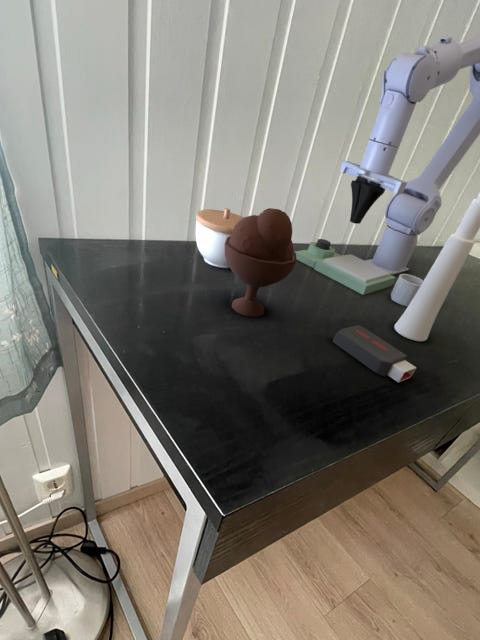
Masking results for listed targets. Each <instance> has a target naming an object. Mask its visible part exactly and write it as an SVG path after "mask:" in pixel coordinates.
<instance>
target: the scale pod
mask: <svg viewBox="0 0 480 640" xmlns="http://www.w3.org/2000/svg"><path fill="white" fill-rule="evenodd" d="M316 244H317V241H311V242H310V243H309V245H308V248H307V249H302V250H296V251H294V252H295V253H296V259H297V261H299V262H301V263H302V264H305V265H307V266H309V267H310V268H313V269H314V267H315V264H316V261H317V260H322V259H326V258H332V257H337V256H343V255H342V254H340V253H338V252H336V249H335V247H333V246H332V245H330V247H329V250H324V249H320V248H318V247H316Z"/></svg>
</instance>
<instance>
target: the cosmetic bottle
mask: <svg viewBox="0 0 480 640" xmlns="http://www.w3.org/2000/svg"><path fill="white" fill-rule="evenodd" d="M479 231H480V191H479V192H478V194H477V197H476V198H474V199H472V200H471V203H470V205H468V208H467V210H466V212H465V214H464V215H463V217H462V219H461V221H460V223H459V225H458V226H457V228H456V230H455V232H454V233H451V234H450V235H449V237H448V239H447V240H446V242H445V244H444V245H443V247H442V248H441V250H440V252H439V254H438V255H437V257H436V259H435V260H434V262H433V264H432V266H431V267H430V269H429V270H428V272H427V275H426V276H425V277H424V279H423V280H424V281H423V283H422V285H421V286H420V288H419V290H418V291H417V293H416V295H415V296H414V298H413V299H412V301H411V303H410V304H409V306H408V307H407V306H406V308H405V310H404V312H403V313H402V315H401V316H400V317H399V319H398V320H397V321H396V323H394V325H393V326H394V327H393V328H394V330H395V332H397V334H399V335H400V336H402V337H403V338H406V339H408V340H411V341H415V342H426V341H427V340H428V338H429V335H430V332H431V330H432V328H433V326H434V323H435V321H436V319H437V317H438V314H439V312H440V310H441V308H442V306H443V304H444V302H445V300H446V299H447V297H448V294H449V292H450V291H451V289H452V287H453V285H454V284H455V282H456V279H457V277H458V276H459V274H460V272H461V270H462V268H463V266H464V264H465V263H466V261H467V258H469V257H468V256H469V255H470V253H471V251H472V249H473V247H474V245H475V242H476V241H475V240H474V239H475V237H476V235H477V234H478V232H479Z"/></svg>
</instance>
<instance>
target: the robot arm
mask: <svg viewBox="0 0 480 640" xmlns="http://www.w3.org/2000/svg"><path fill="white" fill-rule="evenodd" d="M469 67H470V71H469V87H468V88H469V89H468V90H469V92H470V94H471V95H472V100H471V102H470V103H469V105H468V106H467V108H466V109H465V111H464V112H463V113H462V114H461V116H460V117H459V119H458V121H457V122H456V123H455V124H454V126H453V128H452V129H451V131H450V132H449V133H448V135H447V136H446V138H445V139H444V140H443V141H442V143H441V145H440V146H439V148H438V149H437V151H436V152H435V154H433V156H432V158H431V159H430V161H428V163H427V165H426V166H425V167H424V169H423V170H422V172H421V174H420V175H419V176H418V177H416V178H414V179H411V180H409V181H404V180H402V179H399V178H398V177H395V176H393V175H390V172H391V169H392V167H393V164H394V161H395V159H396V157H397V154H398V151H399V149H400V146H401V144H402V141H403V138H404V136H405V134H406V130H407V128H408V126H409V123H410V121H411V117H412V116H413V112H414V110H415V108H416V105H417V103H421V102H422V101H423V100H424V99H425V98H426V96H427V95H428V93H429V92H430V91H431V90H433V89H435V88H438V87H440V86H443V85H445V84H448V83H449V82H451V81H452V80H453V79H454V78H456V76H457V74H458V73H459V71H460V70H462V69H465V68H469ZM378 103H379V104H378V107H379V108H378V112H377V115H376V118H375V120H374V123H373V127H372V129H371V132H370V135H369V138H368V141H367V144H366V147H365V150H364V152H363V156H362V159H361V162H360V164H358V163H355V162H352V161H349V160H342V161H341V165H340V170H339V173H342V174H345V175H349V176H352V177H354V178H355V179H353V180H351V182H350V187H351V198H352V199H351V212H350V216H349V217H350V218H349V222H350V223H353V224H355V225H357V224H359V225H360V224H361V223H362V222H363V219H364V218H365V216H366V215H367V213H368V212H369V210H370V209H371V208H372V206H373V205H374V204H375V203H376V202H377V201H378V199H379V198H381V196H382V195H384V193H385V192H386V190H388V191H391V192H392V193H394V194H393V195H391V196H390V199H389V200H388V202H387V203H386V206H385V210H384V211H385V212H384V217H385V225H386V227H385V228H384V230H383V231H384V232H383V234H382V236H381V239H380V240H379V243H378V245H377V248H376V251H375V253H374V255H373V258H370V259H365V260H364V261H366V262H368V263H370V264H372V265H375V266H377V267H379V268H381V269H383V270H385V271H387V272H389V273H391V275H392V276H394V275H397V274H402V273H404V272H408V271H409V270H410V268H409V267H407V265H408V263H409V262H410V259H411V257H412V255H413V254H414V251H415V250H416V247H417V245H418V242H419V237H418V236H420V235H421V234H422V233H424V232H425V231H426V230H427V229H428V228H430V226H432V224H433V222H434V220H435V217H436V215H437V213H438V212H439V210H440V208H441V207H442V196H441V193H440V190H441V189H442V187H443V185H444V184H445V183H446V182H447V180H448V179H449V177H450V176H451V174H452V173H453V171H454V170H455V169H456V167H457V166H458V165H459V163H460V162H461V161H462V160H463V158H464V156H465V155H466V154H467V153H468V151H469V150H470V148H471V147H472V146H473V145H474V143H475V141H476V140H477V139H478V138H479V136H480V32H479V33H478V34H475V35H474V36H472V37H470V38H467V39H466V40H463V41H461V42H460V43H459V41H458V40H456V39H454V38H453V36H451V35H443V36H441V37H440V38H439V41H438V43H435V44H433V45H430V46H429V45H421V46H419V48H418V51H416V52H414V53H408V52H401V53H399V54H398V55H397V56H395V57H394V58H393V59H391V61H390V62H389V64H388V65H387V68H386V70H384V71H383V74H382V78H381V94H380V98H379V100H378Z"/></svg>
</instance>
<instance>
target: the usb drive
mask: <svg viewBox="0 0 480 640" xmlns="http://www.w3.org/2000/svg"><path fill="white" fill-rule="evenodd" d="M332 343H333V344H335V345H336V346H338V347H339V348H340V349H342V350H343V351H345V352H346V353H347V354H348V355H350V356H351V357H352V358H354V359H356V360H357V361H359V362H360V363H361V364H363V365H364V366H365V367H367V368H368V369H369V370H371V371H372V372H373V373H375V374H378V375H379V376H382V377H387V376H388V377H390V378H391V379H392V380H394V381H395V382H397V383H399V384H400V383H401V382H403V381H406V380H408V379H410V378H411V377H412V376H413V374H414V373H415V371H416V370H417V367H416V366H415V365H413V364H412V363H410V362H409V361H407V359H408V355H407V354H405V353H403V352H402V351H401V350H399V349H397V348H396V347H395V346H393V345H391V344H390V343H388V342H386V341H385V340H383V339H382V338H380V336H378V335H376V334H374V333H373V332H371V331H370V330H369V329H367V328H366V327H363V326H362V325H354V326H350V327H349V326H348V327H345V328H341V329H340V330H338V331H337V332H336V333H335V334H334V336H333V339H332Z"/></svg>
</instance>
